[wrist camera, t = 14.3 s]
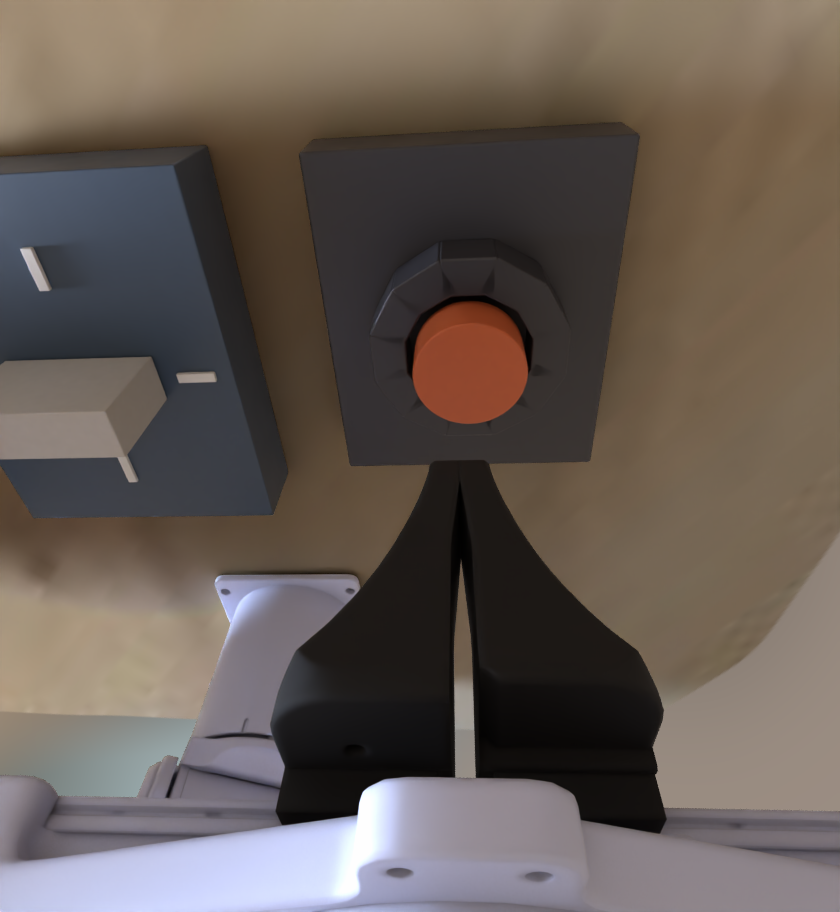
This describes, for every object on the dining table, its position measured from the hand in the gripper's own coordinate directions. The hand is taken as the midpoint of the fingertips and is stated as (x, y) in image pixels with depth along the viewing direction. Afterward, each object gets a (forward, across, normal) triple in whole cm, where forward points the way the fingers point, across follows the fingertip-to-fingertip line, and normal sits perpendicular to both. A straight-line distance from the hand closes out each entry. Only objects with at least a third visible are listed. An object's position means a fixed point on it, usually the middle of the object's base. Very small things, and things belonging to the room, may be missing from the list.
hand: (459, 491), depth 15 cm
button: (+7, 0, 0) cm, 7 cm away
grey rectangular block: (+7, +14, +1) cm, 15 cm away
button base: (+10, 0, 0) cm, 10 cm away
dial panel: (+10, +14, +1) cm, 17 cm away
